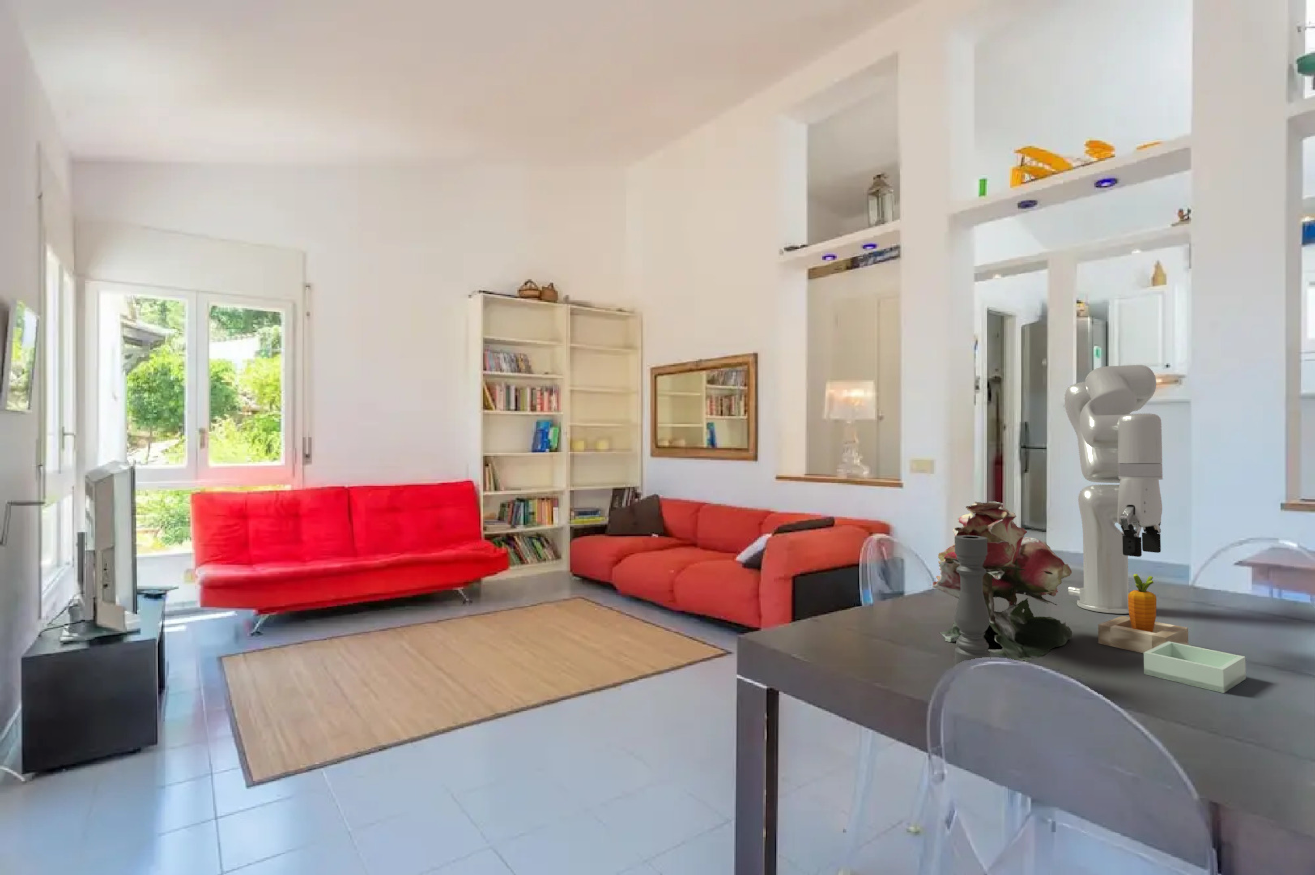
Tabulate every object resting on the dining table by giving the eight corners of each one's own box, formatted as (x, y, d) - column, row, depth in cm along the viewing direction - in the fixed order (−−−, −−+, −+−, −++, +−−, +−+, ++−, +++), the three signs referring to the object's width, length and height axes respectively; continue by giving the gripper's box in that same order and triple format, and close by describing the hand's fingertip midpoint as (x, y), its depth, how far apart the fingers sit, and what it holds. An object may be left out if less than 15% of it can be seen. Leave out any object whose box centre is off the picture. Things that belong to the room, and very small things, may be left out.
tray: (1144, 674, 123) (1143, 652, 123) (1168, 661, 130) (1168, 641, 130) (1223, 693, 114) (1223, 669, 114) (1245, 679, 120) (1245, 656, 120)
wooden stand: (1098, 643, 142) (1098, 624, 142) (1122, 633, 149) (1122, 615, 149) (1165, 658, 132) (1165, 637, 132) (1188, 647, 139) (1188, 627, 139)
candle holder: (948, 663, 130) (946, 535, 130) (979, 662, 131) (977, 534, 131) (966, 674, 124) (964, 540, 124) (997, 673, 125) (995, 539, 125)
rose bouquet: (1083, 636, 147) (1081, 500, 147) (1027, 666, 129) (1025, 510, 129) (968, 614, 167) (966, 494, 167) (905, 636, 149) (903, 502, 149)
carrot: (1154, 643, 142) (1153, 572, 142) (1160, 650, 137) (1159, 576, 137) (1126, 640, 144) (1124, 570, 144) (1131, 647, 139) (1130, 575, 139)
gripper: (1136, 471, 149) (1138, 548, 148) (1101, 472, 139) (1103, 555, 138) (1177, 472, 142) (1179, 552, 142) (1144, 473, 133) (1146, 560, 132)
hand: (1142, 553), depth 140 cm, fingers open, 9 cm apart
